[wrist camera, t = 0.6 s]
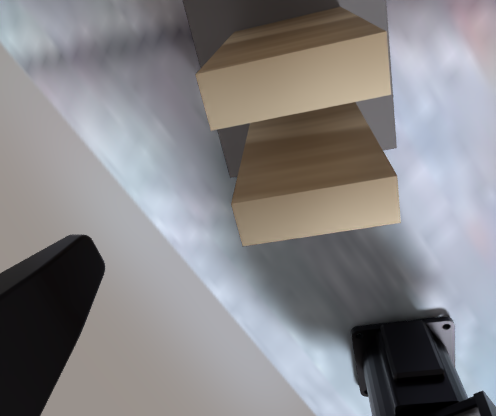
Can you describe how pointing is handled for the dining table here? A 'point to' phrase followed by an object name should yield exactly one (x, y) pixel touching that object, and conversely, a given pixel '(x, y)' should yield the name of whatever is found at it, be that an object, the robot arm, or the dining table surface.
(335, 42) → the domino
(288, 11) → the rubber mat
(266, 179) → the domino
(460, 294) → the dining table surface
